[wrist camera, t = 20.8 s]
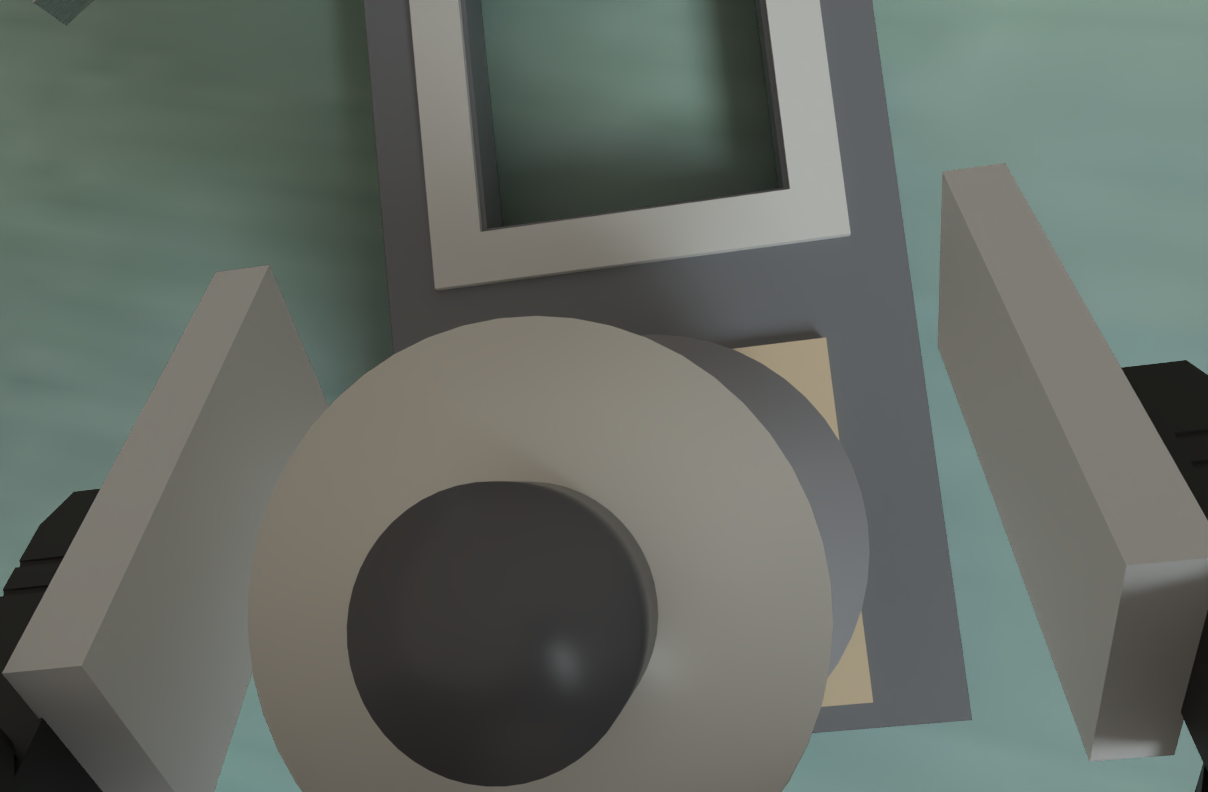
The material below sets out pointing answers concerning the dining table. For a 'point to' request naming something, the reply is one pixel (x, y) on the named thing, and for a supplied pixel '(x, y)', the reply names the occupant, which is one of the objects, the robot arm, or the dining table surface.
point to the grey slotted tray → (710, 289)
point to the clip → (63, 8)
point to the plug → (556, 569)
